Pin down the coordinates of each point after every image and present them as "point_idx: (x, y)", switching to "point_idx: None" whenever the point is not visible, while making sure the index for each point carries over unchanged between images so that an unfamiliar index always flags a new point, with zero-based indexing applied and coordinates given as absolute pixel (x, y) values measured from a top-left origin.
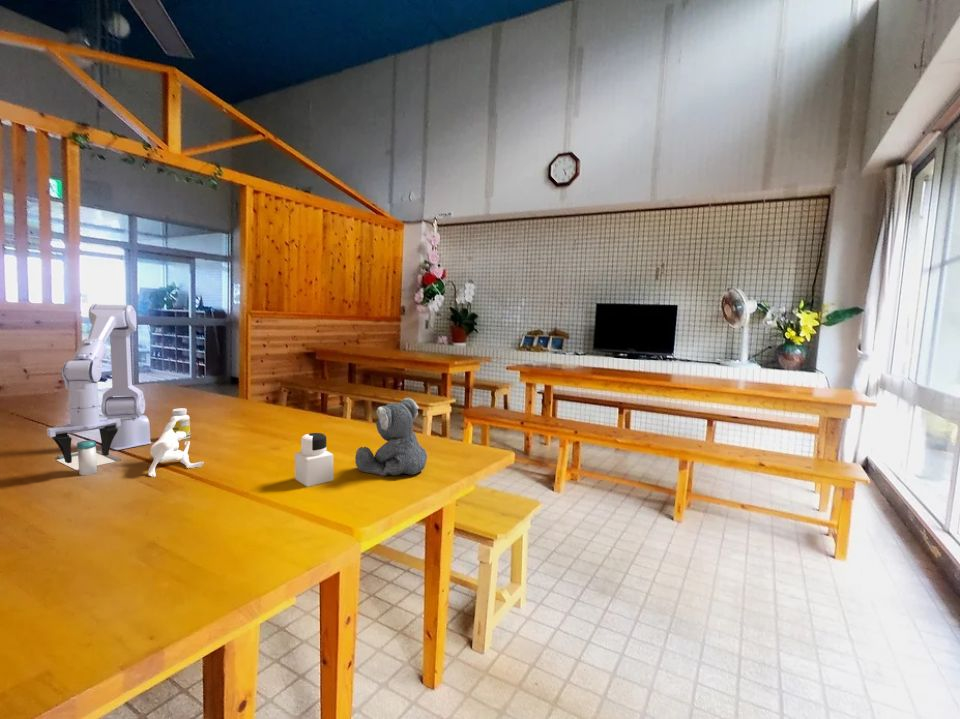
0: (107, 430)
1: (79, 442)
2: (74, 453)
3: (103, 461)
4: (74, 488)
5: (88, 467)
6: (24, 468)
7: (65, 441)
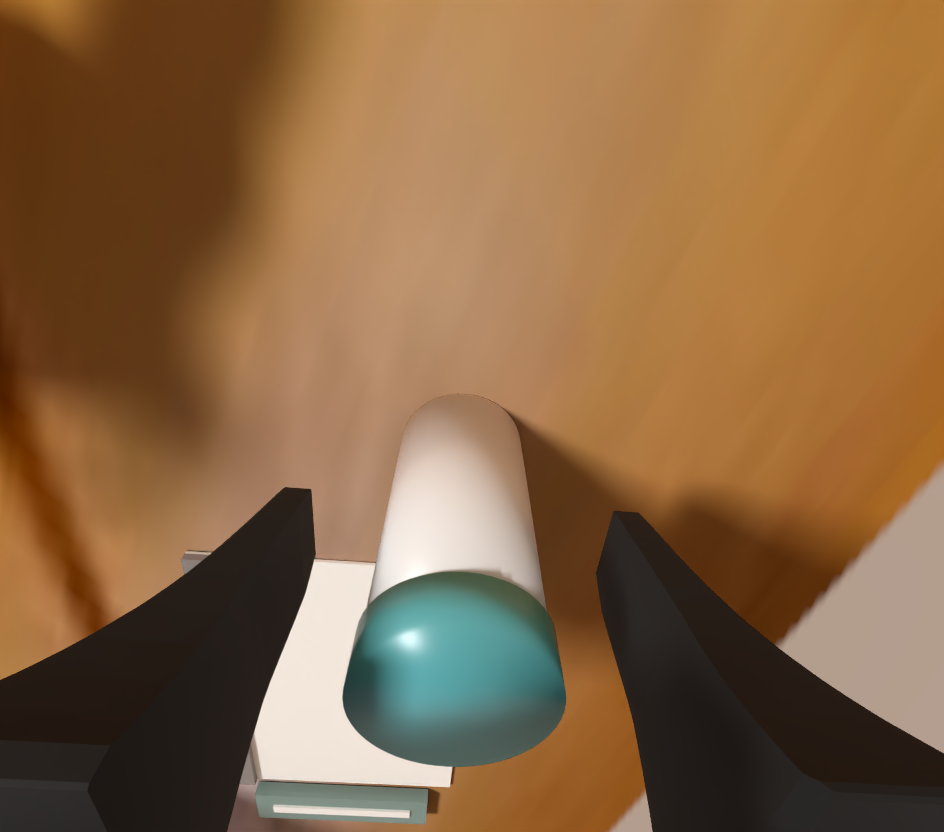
0: (97, 790)
1: (511, 742)
2: (353, 808)
3: None
4: (766, 84)
5: (483, 430)
6: (600, 769)
7: (849, 738)
